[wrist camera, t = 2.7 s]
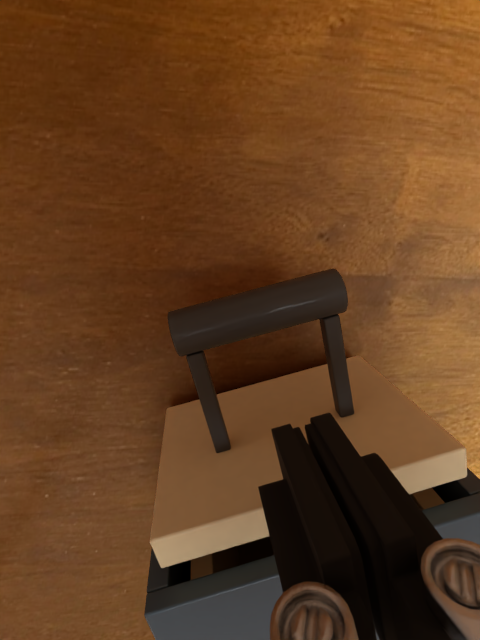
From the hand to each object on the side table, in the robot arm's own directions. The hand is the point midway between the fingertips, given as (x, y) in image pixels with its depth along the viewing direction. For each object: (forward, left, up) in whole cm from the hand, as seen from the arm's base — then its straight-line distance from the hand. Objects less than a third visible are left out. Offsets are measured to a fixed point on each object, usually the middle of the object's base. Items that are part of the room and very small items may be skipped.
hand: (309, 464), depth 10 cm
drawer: (+5, +1, -8) cm, 10 cm away
